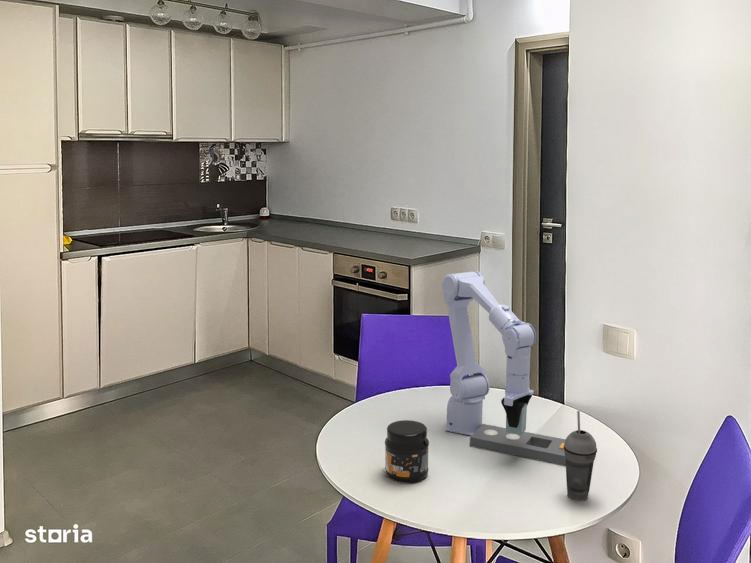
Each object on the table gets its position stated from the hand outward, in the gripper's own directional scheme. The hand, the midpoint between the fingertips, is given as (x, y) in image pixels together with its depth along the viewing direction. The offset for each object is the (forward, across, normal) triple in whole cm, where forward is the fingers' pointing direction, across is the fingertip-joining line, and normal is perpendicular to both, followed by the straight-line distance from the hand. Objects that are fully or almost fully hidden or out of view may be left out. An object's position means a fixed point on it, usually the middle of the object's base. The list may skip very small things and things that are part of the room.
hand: (516, 423), depth 180 cm
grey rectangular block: (+2, 0, 0) cm, 2 cm away
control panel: (+9, +6, 0) cm, 11 cm away
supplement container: (+9, -22, +20) cm, 31 cm away
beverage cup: (+9, -13, -19) cm, 25 cm away
